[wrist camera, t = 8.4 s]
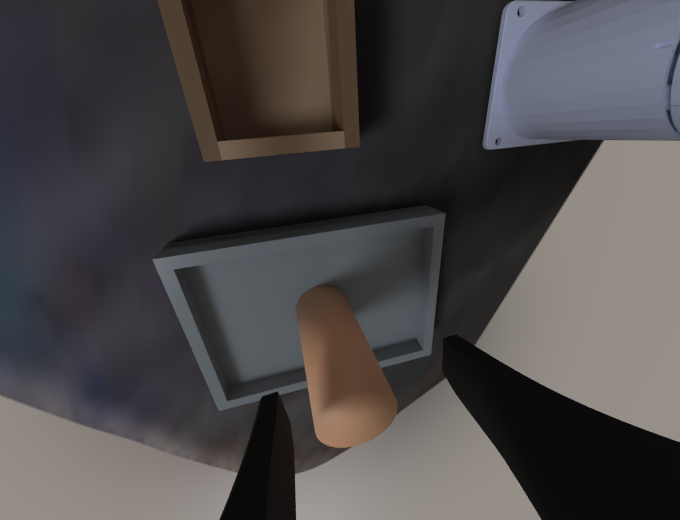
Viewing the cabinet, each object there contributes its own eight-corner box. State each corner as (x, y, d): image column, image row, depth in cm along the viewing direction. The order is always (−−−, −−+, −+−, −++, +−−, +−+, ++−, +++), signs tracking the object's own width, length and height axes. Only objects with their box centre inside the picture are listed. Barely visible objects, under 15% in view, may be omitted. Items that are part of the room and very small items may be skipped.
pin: (340, 277, 19) (391, 375, 11) (352, 318, 21) (402, 426, 13) (288, 295, 19) (303, 410, 11) (304, 335, 21) (327, 458, 13)
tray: (425, 204, 20) (445, 213, 18) (416, 335, 26) (430, 354, 23) (167, 243, 16) (152, 259, 14) (223, 384, 22) (218, 411, 20)
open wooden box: (332, -18, 13) (351, -65, 10) (342, 144, 17) (359, 146, 14) (169, -23, 12) (134, -78, 9) (216, 156, 15) (204, 162, 12)
